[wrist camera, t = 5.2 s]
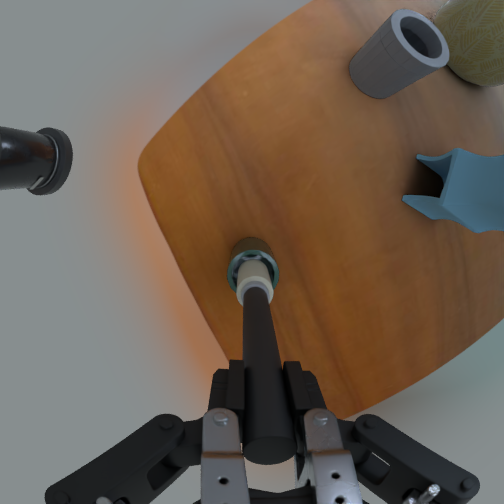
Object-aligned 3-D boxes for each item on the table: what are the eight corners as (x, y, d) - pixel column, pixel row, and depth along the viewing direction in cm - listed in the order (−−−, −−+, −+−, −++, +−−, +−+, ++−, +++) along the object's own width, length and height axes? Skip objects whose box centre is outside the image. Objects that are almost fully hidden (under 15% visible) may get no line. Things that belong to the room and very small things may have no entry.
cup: (349, 92, 32) (395, 52, 19) (347, 48, 31) (386, 0, 17) (397, 104, 33) (454, 77, 19) (393, 61, 31) (442, 24, 17)
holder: (230, 275, 38) (226, 297, 30) (232, 236, 37) (228, 248, 29) (270, 278, 38) (276, 300, 30) (273, 238, 37) (281, 251, 29)
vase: (409, 35, 30) (506, -36, 3) (439, 4, 27) (514, -49, 1) (474, 109, 32) (587, 87, 6) (494, 67, 30) (580, 42, 3)
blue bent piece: (436, 222, 37) (533, 249, 17) (401, 200, 36) (505, 216, 16) (451, 178, 35) (547, 184, 16) (417, 153, 34) (518, 142, 15)
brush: (237, 286, 30) (225, 471, 8) (238, 258, 30) (225, 424, 8) (266, 288, 30) (305, 470, 9) (269, 259, 30) (322, 422, 8)
